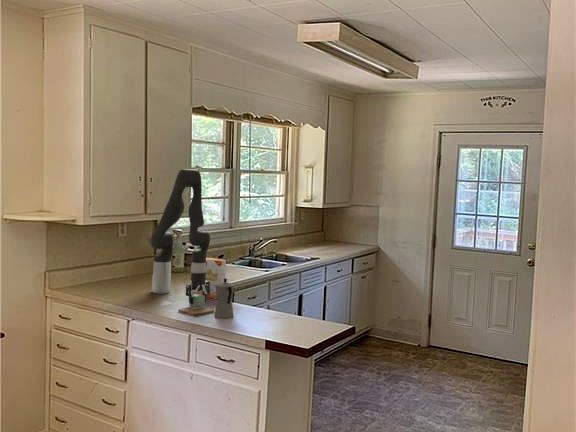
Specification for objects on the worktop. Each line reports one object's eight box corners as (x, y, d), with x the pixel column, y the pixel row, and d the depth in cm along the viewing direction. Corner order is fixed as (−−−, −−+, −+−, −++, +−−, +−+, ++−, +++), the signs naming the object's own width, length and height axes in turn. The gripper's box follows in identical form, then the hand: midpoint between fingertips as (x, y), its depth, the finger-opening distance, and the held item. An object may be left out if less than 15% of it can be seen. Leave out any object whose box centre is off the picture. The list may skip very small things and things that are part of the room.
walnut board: (178, 311, 273) (178, 309, 273) (197, 307, 283) (197, 305, 282) (195, 316, 266) (195, 314, 266) (214, 312, 275) (214, 309, 275)
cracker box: (196, 297, 306) (197, 258, 304) (201, 294, 311) (202, 256, 310) (220, 299, 301) (221, 260, 300) (225, 297, 307) (226, 259, 306)
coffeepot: (210, 313, 273) (211, 276, 272) (229, 312, 277) (230, 275, 276) (219, 321, 259) (221, 282, 258) (239, 320, 263) (241, 281, 261)
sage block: (190, 305, 288) (190, 295, 287) (197, 303, 292) (198, 293, 291) (197, 306, 285) (197, 297, 284) (204, 305, 289) (204, 295, 288)
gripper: (203, 268, 295) (202, 299, 296) (182, 271, 283) (181, 303, 285) (214, 270, 290) (213, 302, 291) (193, 273, 279) (192, 306, 280)
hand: (197, 302), depth 288 cm, fingers open, 8 cm apart
